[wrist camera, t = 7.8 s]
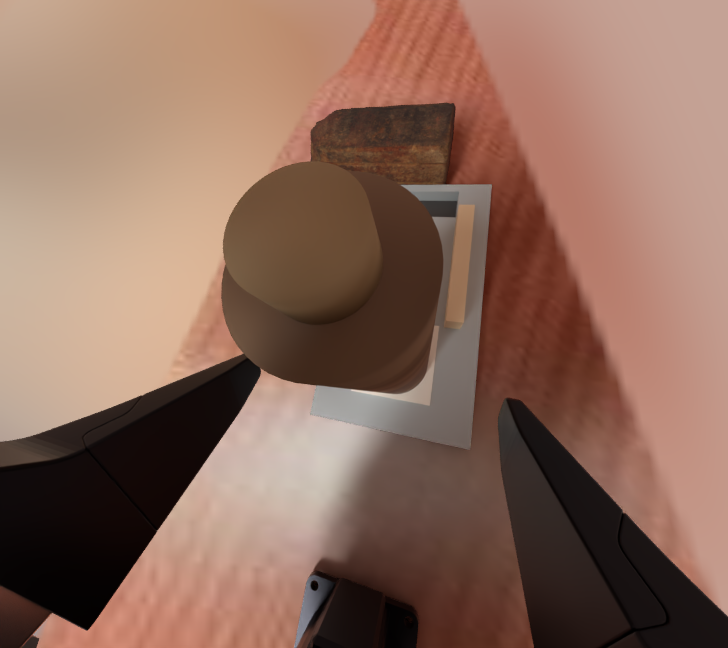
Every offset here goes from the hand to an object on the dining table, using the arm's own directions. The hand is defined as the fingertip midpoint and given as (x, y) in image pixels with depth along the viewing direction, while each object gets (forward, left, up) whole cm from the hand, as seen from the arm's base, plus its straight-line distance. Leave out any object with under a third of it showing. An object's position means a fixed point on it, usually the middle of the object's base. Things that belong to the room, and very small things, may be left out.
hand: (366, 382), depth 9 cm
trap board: (+6, 0, -9) cm, 11 cm away
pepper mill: (+2, 0, -8) cm, 8 cm away
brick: (+18, +4, -9) cm, 20 cm away
